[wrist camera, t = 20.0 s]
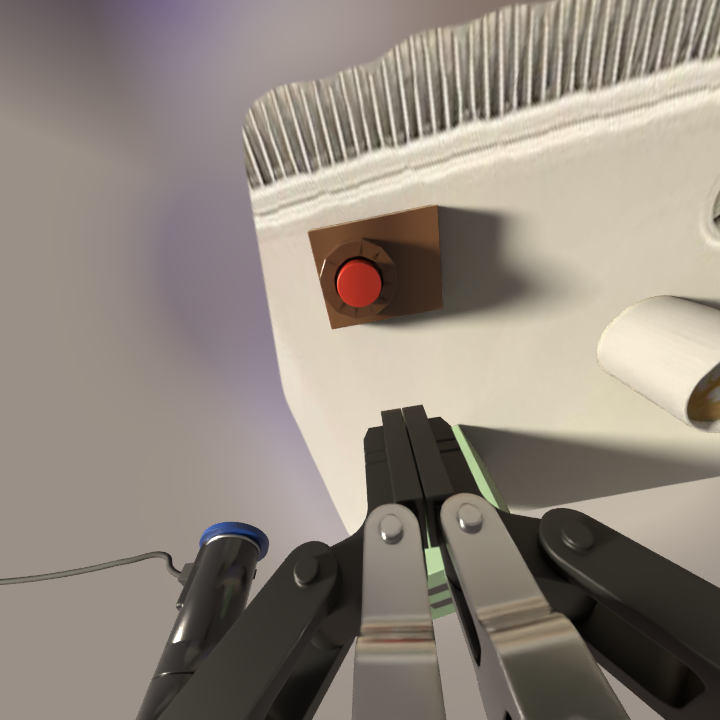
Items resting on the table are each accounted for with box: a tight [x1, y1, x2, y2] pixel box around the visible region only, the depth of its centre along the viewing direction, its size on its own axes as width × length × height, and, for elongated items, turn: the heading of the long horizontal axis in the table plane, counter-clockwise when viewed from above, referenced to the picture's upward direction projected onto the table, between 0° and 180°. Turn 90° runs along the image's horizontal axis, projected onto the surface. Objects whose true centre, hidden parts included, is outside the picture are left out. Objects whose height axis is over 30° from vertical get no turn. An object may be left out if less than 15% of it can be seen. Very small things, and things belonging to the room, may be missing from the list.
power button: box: [337, 259, 382, 307], centre depth 24 cm, size 4×4×2 cm
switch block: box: [308, 205, 443, 329], centre depth 26 cm, size 11×9×4 cm
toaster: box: [425, 425, 510, 620], centre depth 35 cm, size 13×9×15 cm, turn 124°
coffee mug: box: [597, 296, 720, 433], centre depth 28 cm, size 13×10×10 cm
